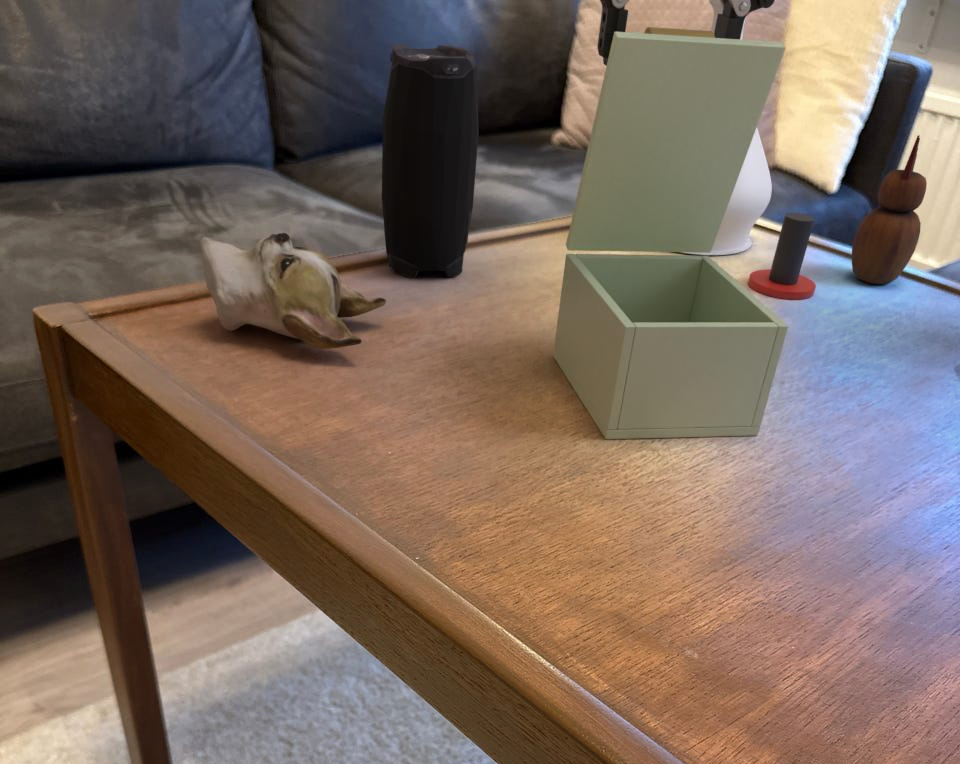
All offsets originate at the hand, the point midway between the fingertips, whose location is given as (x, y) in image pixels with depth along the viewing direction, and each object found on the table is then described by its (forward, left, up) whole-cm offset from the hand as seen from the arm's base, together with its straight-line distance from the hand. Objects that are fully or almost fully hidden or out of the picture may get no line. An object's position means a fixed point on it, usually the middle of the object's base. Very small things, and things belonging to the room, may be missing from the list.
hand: (664, 69), depth 74 cm
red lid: (-29, 0, -22) cm, 36 cm away
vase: (-36, -17, -22) cm, 45 cm away
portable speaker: (-1, -26, -22) cm, 34 cm away
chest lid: (+2, +3, -5) cm, 6 cm away
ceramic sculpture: (+21, -20, -22) cm, 36 cm away
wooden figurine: (-41, +5, -22) cm, 47 cm away
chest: (+5, +7, -22) cm, 24 cm away
